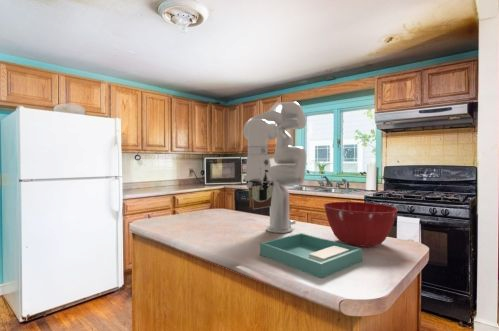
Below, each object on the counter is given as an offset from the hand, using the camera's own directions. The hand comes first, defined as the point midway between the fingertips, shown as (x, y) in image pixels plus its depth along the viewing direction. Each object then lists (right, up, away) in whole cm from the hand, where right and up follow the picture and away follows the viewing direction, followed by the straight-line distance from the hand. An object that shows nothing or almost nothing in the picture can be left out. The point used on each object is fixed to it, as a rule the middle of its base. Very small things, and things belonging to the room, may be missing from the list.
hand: (257, 198), depth 109 cm
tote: (+17, -20, -12) cm, 29 cm away
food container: (0, -3, +1) cm, 3 cm away
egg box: (+22, -19, -18) cm, 34 cm away
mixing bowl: (+42, -20, +8) cm, 47 cm away
